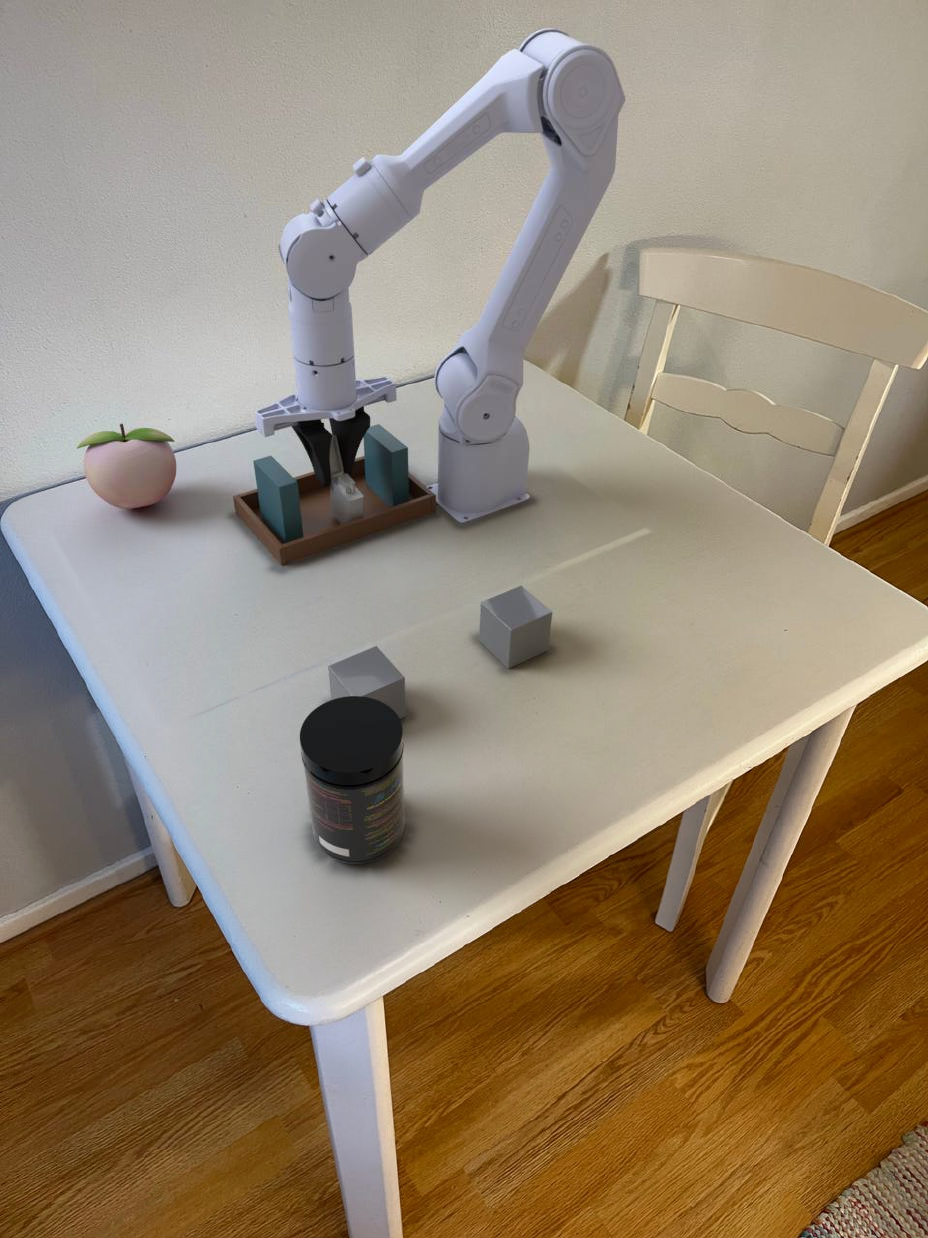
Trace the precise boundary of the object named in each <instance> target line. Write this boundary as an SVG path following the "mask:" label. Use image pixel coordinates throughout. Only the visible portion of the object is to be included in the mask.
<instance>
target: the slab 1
mask: <svg viewBox="0 0 928 1238" xmlns="http://www.w3.org/2000/svg"><path fill="white" fill-rule="evenodd" d="M253 470H254V476H255V482H256V483H255V484H256V489H257V490H258V497H259V504H260V511H261V518H262V519H263V521H264V522H265V523H266V524H267V525H268V526H269V527H270V528H271V530H272V531H273V532H274V533H275V534H276V535H277V536H278V537H279V539H280V540H281V541H282V542H283V543H284V544H285V543H288V542H291V541H294V540H297V539H300V538H302V537H303V528H302V519H301V510H300V500H299V491H298V482H297V481H296V480H295V479H294V477H293V476H292V475H291V473H289V472H288V471H287V470H286V469H285V468H284V467H283V465H281V464H280V462H278V461H277V460H276V459H275V458H274V457H273V455H268V456H264V457H260V458H257V459H255V460H253Z"/></svg>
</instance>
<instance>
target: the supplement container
mask: <svg viewBox="0 0 928 1238" xmlns="http://www.w3.org/2000/svg"><path fill="white" fill-rule="evenodd" d="M299 744H300V745H299V746H300V754H301V755H300V756H301V760H302V765H303V769H304V777H305V784H306V791H307V798H308V799H307V800H308V806H309V811H310V812H309V815H310V821H311V828H312V834H313V838H314V841H315V843H316V844H317V846H318V848H319V849H320V850H321V851H322V852H323V853H324V854H325V855H327V856H328V857H329V858H331V859H333V860H335V861H337V862H340V863H344V864H348V865H363V864H368V863H372V862H376V861H377V860H380V859H382V858H383V857H385V856H386V855H388V854H389V853H391V851H392V850H393V849H395V848H396V846H397V845H398V843H400V840H401V839H402V836H403V834H404V830H405V824H406V823H405V822H406V820H405V785H404V784H405V783H404V781H405V779H404V750H405V749H404V747H405V746H404V745H405V744H404V728H403V723H402V721H401V719H399V717H398V715H397V714H396V713H395V711H394V710H393V709H392V708H390V707H389V706H388V705H386V704H385V703H383V702H381V701H378V700H376V699H373V698H368V697H362V696H347V697H341V698H337V699H333V700H328V701H325V702H324V703H322V704H320V705H318V706H317V707H316V708H314V709H313V710H312V711H311V712H310V713H309V714H308V715H307V716H306V718H305V719H304V721H303V723H302V724H301V727H300V731H299Z"/></svg>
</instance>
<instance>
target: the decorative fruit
mask: <svg viewBox="0 0 928 1238" xmlns="http://www.w3.org/2000/svg"><path fill="white" fill-rule="evenodd" d="M119 428H120V432H118V431H117V432H116V431H114V430H113V431H111V430H103V431H98V432H95V433H92V434H90V435H88V436H87V437H86V438H84V439H83V440H82V441H81V442H80V443H79V444H78V445H77V447H76V449H80V448H81V449H82V448H85V447H87V448H86V450H85V452H84V456H83V472H84V476H85V479H86V481H87V483H88V485H89V486H90V488H91V489H92V491H93V492H94V493H95V494H96V495H97V496H98V497H99V498H100V499H102V500H103V501H104V502H105V503H107V504H109V505H111V506H113V507H115V508H119V509H127V510H130V509H131V510H132V509H139V508H143V507H148V506H152V505H155V504H156V503H159V502H160V501H162V500H163V499H164V498H165V497H166V496H167V495H168V494H169V493H170V491H171V490H172V487H173V485H174V483H175V480H176V475H177V460H176V455H175V452H174V450H173V447H172V446H171V444H170V442H171V443H175V440H174V439H173V438H172V437H171V436H170V435H169V434H167V433H165V432H163V431H161V430H159V429H156V428H152V427H136V428H135V427H134V428H131V429H128V430H126V431H125V427H124V424H123V423H120V424H119Z"/></svg>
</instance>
